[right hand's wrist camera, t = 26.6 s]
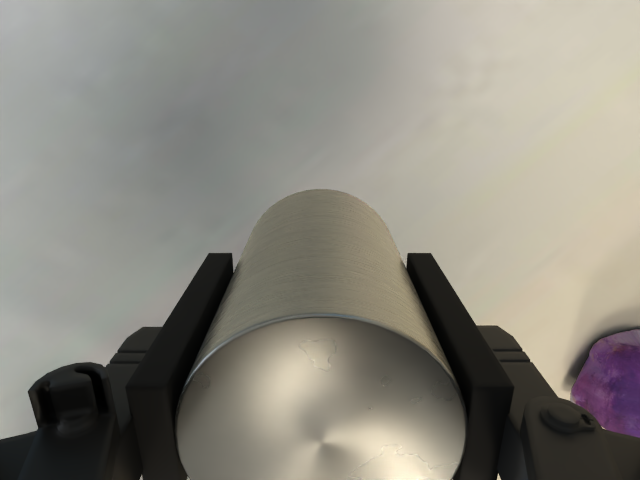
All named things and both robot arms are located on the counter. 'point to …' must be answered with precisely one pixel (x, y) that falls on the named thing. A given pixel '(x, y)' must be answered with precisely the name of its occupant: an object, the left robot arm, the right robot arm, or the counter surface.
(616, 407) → the figurine
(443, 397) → the can
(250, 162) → the counter surface
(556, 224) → the counter surface
